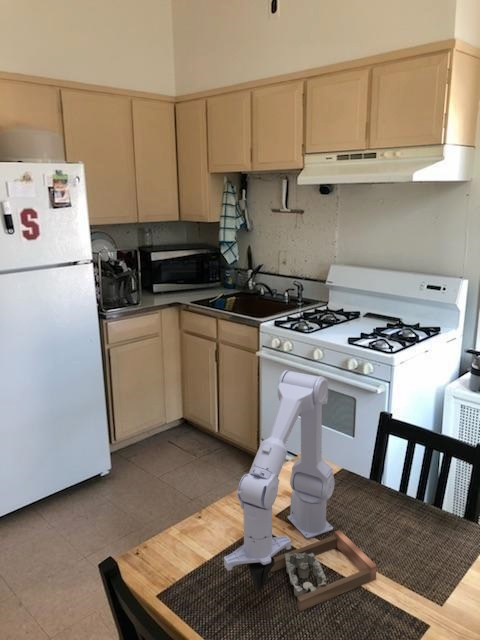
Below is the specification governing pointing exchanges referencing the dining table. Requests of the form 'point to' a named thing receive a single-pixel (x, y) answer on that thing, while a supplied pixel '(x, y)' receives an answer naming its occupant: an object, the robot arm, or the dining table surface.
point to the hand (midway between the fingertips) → (258, 586)
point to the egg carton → (304, 572)
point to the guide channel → (341, 585)
